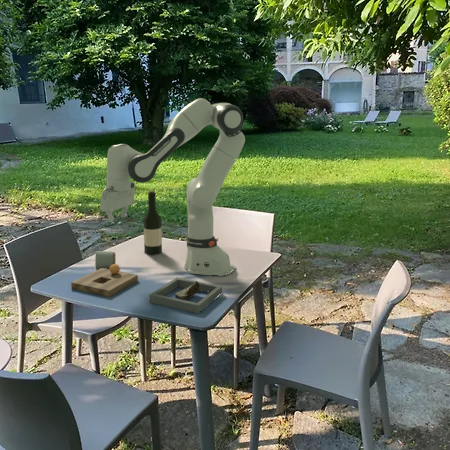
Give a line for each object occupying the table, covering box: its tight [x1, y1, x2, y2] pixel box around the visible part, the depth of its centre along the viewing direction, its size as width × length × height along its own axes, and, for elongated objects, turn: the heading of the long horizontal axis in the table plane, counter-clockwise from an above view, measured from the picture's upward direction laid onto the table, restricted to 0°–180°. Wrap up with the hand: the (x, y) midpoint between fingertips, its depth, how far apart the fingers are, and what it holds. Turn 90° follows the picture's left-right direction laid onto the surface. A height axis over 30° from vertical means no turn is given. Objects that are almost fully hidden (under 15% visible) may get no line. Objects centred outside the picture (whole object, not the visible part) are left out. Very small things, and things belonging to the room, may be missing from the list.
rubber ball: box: [109, 263, 121, 274], centre depth 180 cm, size 4×4×4 cm
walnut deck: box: [70, 268, 139, 298], centre depth 176 cm, size 18×18×2 cm
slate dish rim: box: [148, 277, 223, 314], centre depth 165 cm, size 20×19×3 cm
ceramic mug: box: [94, 250, 117, 270], centre depth 195 cm, size 11×8×8 cm
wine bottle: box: [143, 190, 163, 256], centre depth 213 cm, size 8×8×30 cm
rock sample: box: [174, 280, 200, 301], centre depth 166 cm, size 10×8×9 cm
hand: (117, 218), depth 181 cm, fingers open, 8 cm apart
